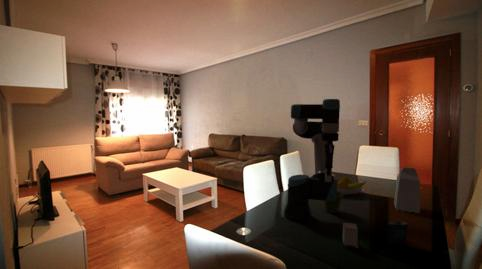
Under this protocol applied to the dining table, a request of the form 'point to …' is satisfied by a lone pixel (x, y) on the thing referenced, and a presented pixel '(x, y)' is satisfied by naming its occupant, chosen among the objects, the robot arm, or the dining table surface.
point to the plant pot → (333, 203)
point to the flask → (397, 232)
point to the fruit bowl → (348, 186)
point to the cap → (350, 234)
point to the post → (350, 245)
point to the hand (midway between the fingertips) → (328, 181)
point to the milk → (407, 191)
